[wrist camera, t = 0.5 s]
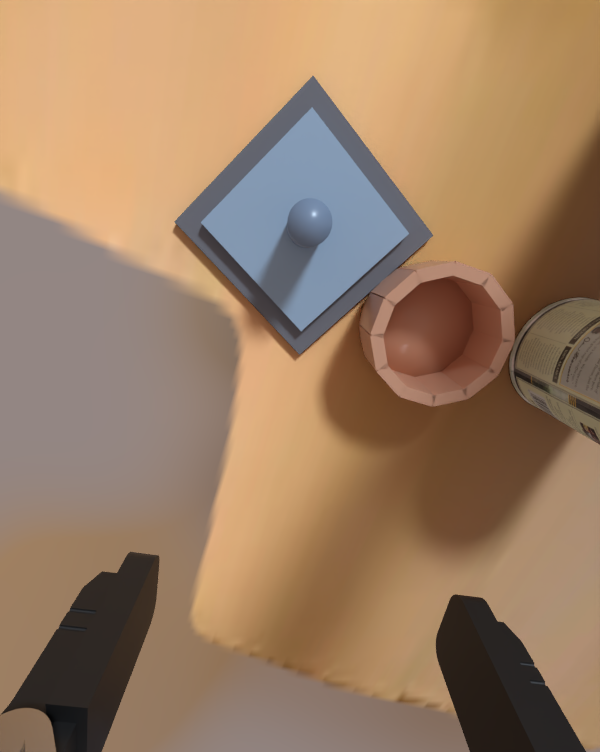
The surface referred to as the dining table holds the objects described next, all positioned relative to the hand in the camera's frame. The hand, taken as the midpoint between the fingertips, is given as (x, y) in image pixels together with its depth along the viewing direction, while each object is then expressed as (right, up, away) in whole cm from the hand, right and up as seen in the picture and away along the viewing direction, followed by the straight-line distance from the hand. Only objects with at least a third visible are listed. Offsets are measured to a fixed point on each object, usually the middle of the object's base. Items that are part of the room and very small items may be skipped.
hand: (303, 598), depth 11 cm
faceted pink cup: (+10, +10, +22) cm, 26 cm away
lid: (0, +17, +19) cm, 26 cm away
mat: (0, +17, +20) cm, 26 cm away
